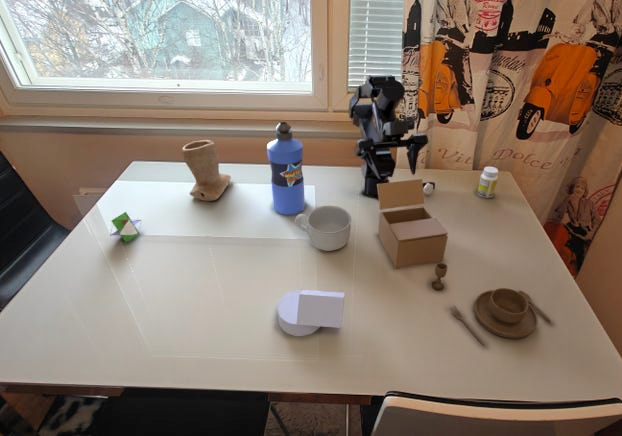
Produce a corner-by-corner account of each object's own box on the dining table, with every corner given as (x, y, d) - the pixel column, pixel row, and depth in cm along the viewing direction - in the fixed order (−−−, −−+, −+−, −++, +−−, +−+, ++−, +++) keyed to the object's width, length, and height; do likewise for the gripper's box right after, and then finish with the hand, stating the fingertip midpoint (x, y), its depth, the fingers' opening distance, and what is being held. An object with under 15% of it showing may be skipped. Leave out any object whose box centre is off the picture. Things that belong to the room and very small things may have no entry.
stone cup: (200, 177, 126) (190, 133, 118) (235, 179, 125) (228, 135, 117) (179, 201, 114) (167, 155, 106) (218, 204, 113) (209, 157, 104)
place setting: (489, 355, 71) (496, 334, 68) (426, 284, 86) (430, 264, 83) (558, 325, 77) (568, 304, 73) (488, 263, 92) (494, 244, 88)
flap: (380, 209, 96) (379, 209, 96) (424, 203, 98) (424, 203, 99) (377, 184, 96) (376, 184, 96) (422, 178, 98) (421, 179, 98)
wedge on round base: (344, 304, 81) (283, 299, 82) (345, 280, 77) (281, 276, 78) (341, 339, 74) (274, 334, 75) (341, 315, 70) (271, 310, 71)
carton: (377, 235, 101) (380, 209, 96) (420, 229, 103) (424, 203, 98) (395, 268, 90) (398, 240, 86) (442, 260, 93) (448, 233, 88)
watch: (419, 198, 116) (421, 188, 114) (409, 191, 119) (410, 181, 117) (438, 191, 119) (440, 181, 117) (427, 185, 123) (429, 175, 121)
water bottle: (311, 208, 111) (308, 125, 97) (282, 218, 107) (274, 133, 93) (295, 194, 118) (290, 114, 103) (267, 203, 113) (258, 121, 99)
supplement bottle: (491, 190, 120) (497, 166, 115) (494, 198, 116) (501, 173, 111) (475, 189, 120) (481, 165, 116) (478, 197, 117) (484, 172, 112)
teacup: (356, 237, 100) (358, 211, 96) (339, 262, 92) (339, 235, 88) (309, 224, 105) (308, 198, 100) (289, 246, 97) (286, 220, 92)
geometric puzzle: (100, 232, 98) (105, 216, 92) (123, 218, 103) (129, 202, 97) (122, 252, 98) (128, 237, 93) (143, 237, 103) (150, 222, 98)
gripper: (358, 107, 92) (370, 170, 89) (430, 102, 96) (444, 161, 93) (349, 127, 103) (359, 183, 100) (414, 122, 106) (426, 176, 104)
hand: (397, 176), depth 99 cm, fingers open, 9 cm apart
